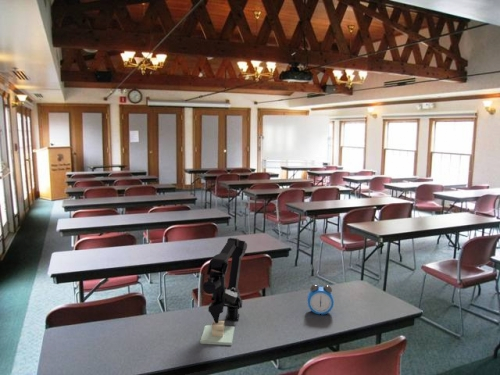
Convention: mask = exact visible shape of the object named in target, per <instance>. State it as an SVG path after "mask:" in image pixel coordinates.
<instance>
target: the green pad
mask: <svg viewBox="0 0 500 375" xmlns="http://www.w3.org/2000/svg"><path fill="white" fill-rule="evenodd" d="M235 328H236V327H235V326H232V325H230V326H229V325H228V326H227V325H224V334H223V337H219V336H212V324H211V325H209V324H208V325H206V324H205V326H204V327H203V331H202V335H201V337H200V340H199V344H201V345H203V344H204V345H220V346H232V345H233V340H234V335H235Z"/></svg>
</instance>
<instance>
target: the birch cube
mask: <svg viewBox="0 0 500 375" xmlns="http://www.w3.org/2000/svg"><path fill="white" fill-rule="evenodd" d="M211 325H212V336H219V337H223V334H224V326H225V320H218V323H215V321H214V320H213V321H212V324H211Z"/></svg>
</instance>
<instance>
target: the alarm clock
mask: <svg viewBox="0 0 500 375" xmlns="http://www.w3.org/2000/svg"><path fill="white" fill-rule="evenodd" d="M332 292H333V289H332V287H331V286H330V285H328V284H325V285H324V286H323V285H320V286H319V285H318V284H315V283H314V284H311V286H310V287H309V292H308V295H307V305H308V308H309V309H310V311H311V312H312V314H313V313H314V314H316V315H320V314H321V315H328V313H330V312H331V311H332V310H333V308H334V303H335V302H334V301H335V300H334V296H333V294H332Z"/></svg>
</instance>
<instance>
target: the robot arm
mask: <svg viewBox="0 0 500 375" xmlns="http://www.w3.org/2000/svg"><path fill="white" fill-rule="evenodd" d="M247 248H248V244H247V242H246V240H241V239H238V238H237V237H236V238H235V237H228V238H227V241H226V243H225V245H223V248H222V249H221V251H220V252H219V253H218V254H215V255H213V257H212V258H211V259H210V261H209V264H208V267H207V271H206V276H208V277H207V280H206V281H205V282H204V283H203V286H202V289H203V291H204V292H205V293H206V294H208V295H211V298H210V300H211V301H212V302H210V303H209V305H208V306H207V307H208V308H207V309H208V312H209V313H210V315H211V317H212V319H213V321H215V323H218V321H220V320H219V319H220V314H223V312H224V308H225V307H226V315H225V320H226V321H233V322H234V321H237V322H238V321H239V320H240V313H239V310H240V309H242V308H243V299H242V298H241V292H240V289H239V288H238V286H239V279H240V271H241V265H242V258H243V257H244V256H245V254H246V251H247V250H248V249H247ZM230 258H231V263H230V271H229V277H228V278H229V279H228V286H226V275H227V272H228V269H229V260H230ZM225 320H224V321H225Z"/></svg>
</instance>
